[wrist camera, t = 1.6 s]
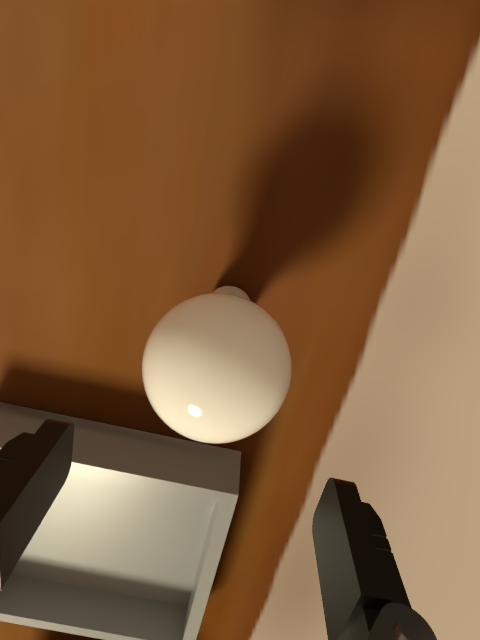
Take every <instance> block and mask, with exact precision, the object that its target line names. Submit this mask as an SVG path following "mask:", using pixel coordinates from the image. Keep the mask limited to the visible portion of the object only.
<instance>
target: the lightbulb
mask: <svg viewBox="0 0 480 640" xmlns="http://www.w3.org/2000/svg"><path fill="white" fill-rule="evenodd" d="M291 371H292V364H291V355H290V350H289V346H288V343H287V340H286V338H285V336H284V334H283V332H282V330H281V328H280V327H279V325H278V324H277V323H276V321H275V320H274V319H273V318H272V317H271V316H270V315H269V314H268V313H267V312H266V311H265V310H264V309H263V308H261V307H260V306H259V305H257V304H255V303H254V302H252V301H250V299H249V297H248V295H247V294H246V293H245V292H244V291H243V290H241V289H240V288H237V287H234V286H223V287H220V288H218V289H216V290H215V291H213V292H212V293H209V294H203V295H198V296H195V297H192V298H189V299H187V300H185V301H183V302H181V303H179V304H178V305H176V306H175V307H173V308H172V309H171V310H169V311H168V312H167V313H166V314H165V315H164V316H163V317H162V318H161V319H160V320H159V322H158V323H157V324H156V326H155V327H154V329H153V330H152V332H151V334H150V336H149V338H148V341H147V343H146V346H145V350H144V354H143V361H142V378H143V384H144V388H145V392H146V395H147V397H148V400H149V402H150V404H151V406H152V407H153V409H154V411H155V412H156V413H157V415H158V416H159V417H160V418H161V419H162V421H163V422H164V423H165V424H166V425H168V426H169V427H170V428H171V429H173V430H174V431H176V432H177V433H179V434H181V435H182V436H185V437H187V438H189V439H192V440H195V441H199V442H203V443H212V444H221V443H229V442H234V441H238V440H241V439H243V438H246V437H248V436H250V435H252V434H254V433H256V432H257V431H259V430H260V429H261V428H263V427H264V426H265V425H266V424H267V423H268V422H269V421H270V420H271V419H272V418H273V417H274V416H275V415H276V413H277V412H278V410H279V409H280V407H281V406H282V404H283V402H284V400H285V397H286V395H287V392H288V389H289V385H290V380H291Z"/></svg>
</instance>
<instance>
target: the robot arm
mask: <svg viewBox="0 0 480 640" xmlns="http://www.w3.org/2000/svg"><path fill="white" fill-rule="evenodd" d="M73 439H74V424H73V423H68V422H64V421H59V420H54V419H46V420H45V421H44V422H43V424H42V425H41V426H40V427H39V429H38V430H37V431H36V432H35V434H32V433H27V432H23V433H21V434H20V435H18V436H16V437H15V438H13V439H11V440H9V441H8V442H6V443H5V445H4V446H3V447H2V448H1V449H0V591H1V589H2V588H3V586H4V584H5V583H6V581H7V579H8V578H9V576H10V574H11V573H12V571H13V569H14V568H15V566H16V564H17V563H18V561H19V559H20V557H21V556H22V554H23V552H24V551H25V549H26V547H27V546H28V544H29V542H30V541H31V539H32V537H33V536H34V534H35V532H36V531H37V529H38V527H39V525H40V524H41V522H42V520H43V519H44V517H45V515H46V514H47V512H48V510H49V509H50V507H51V505H52V504H53V502H54V500H55V499H56V497H57V495H58V493H59V492H60V490H61V488H62V487H63V485H64V483H65V481H66V479H67V477H68V474H69V471H70V468H71V463H72V452H73ZM312 532H313V540H314V547H315V554H316V560H317V567H318V573H319V581H320V587H321V594H322V601H323V608H324V614H325V621H326V627H327V635H328V640H437V638H436V636H435V634H434V632H433V631H432V629H431V627H430V626H429V625H428V623H427V622H426V621H425V619H424V618H423V617H422V616H421V615H420V614H418V613H417V612H416V611H415V610H413V609H412V608H411V605H410V602H409V600H408V597H407V594H406V591H405V588H404V585H403V582H402V580H401V576H400V573H399V571H398V568H397V565H396V562H395V559H394V556H393V553H391V547H390V544H389V541H388V539H386V533H385V530H384V527H383V524H382V521H381V519H380V517H379V516H378V515H377V513H376V512H375V511H374V509H373V508H372V506H371V505H370V504H368V503H364V502H361V500H360V496H359V493H358V490H357V487H356V484H355V483H354V482H349V481H344V480H340V479H335V478H329V479H328V481H327V483H326V485H325V488H324V490H323V493H322V495H321V498H320V500H319V503H318V505H317V508H316V510H315V513H314V517H313V525H312Z"/></svg>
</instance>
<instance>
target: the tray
mask: <svg viewBox="0 0 480 640" xmlns="http://www.w3.org/2000/svg"><path fill="white" fill-rule="evenodd" d="M46 419H54V420H59V421H64V422H68V423H73V424H74V439H73V452H72V463H71V468H70V471H69V474H68V477H67V479H66V481H65V483H64V485H63V487H62V488H61V490H60V492H59V493H58V495H57V497H56V499H55V500H54V502H53V504H52V505H51V507H50V509H49V510H48V512H47V514H46V515H45V517H44V519H43V520H42V522H41V524H40V525H39V527H38V529H37V531H36V532H35V534H34V536H33V537H32V539H31V541H30V542H29V544H28V546H27V547H26V549H25V551H24V552H23V554H22V556H21V557H20V559H19V561H18V563H17V564H16V566H15V568H14V569H13V571H12V573H11V574H10V576H9V578H8V579H7V581H6V583H5V584H4V586H3V588H2V589H1V591H0V621H4V622H9V623H15V624H20V625H26V626H31V627H37V628H42V629H48V630H53V631H59V632H64V633H70V634H75V635H81V636H86V637H92V638H97V639H103V640H196V638H197V634H198V631H199V628H200V624H201V621H202V618H203V614H204V611H205V607H206V604H207V601H208V597H209V594H210V590H211V587H212V584H213V580H214V577H215V574H216V570H217V567H218V563H219V560H220V557H221V553H222V550H223V546H224V543H225V540H226V536H227V533H228V530H229V526H230V523H231V519H232V516H233V513H234V509H235V506H236V502H237V499H238V496H239V480H240V464H241V451H236V450H232V449H227V448H222V447H217V446H212V445H207V444H202V443H198V442H193V441H188V440H183V439H178V438H173V437H168V436H163V435H159V434H154V433H149V432H144V431H139V430H134V429H129V428H125V427H120V426H115V425H110V424H105V423H100V422H95V421H90V420H86V419H81V418H76V417H71V416H66V415H61V414H56V413H52V412H47V411H42V410H37V409H32V408H27V407H22V406H17V405H13V404H8V403H3V402H0V449H1V448H2V447H3V446H4V445H5V443H6V442H8V441H9V440H11V439H13V438H15V437H16V436H18V435H20V434H21V433H23V432H27V433H32V434H35V432H36V431H37V430H38V429H39V427H40V426H41V425H42V424H43V422H44V421H45V420H46Z"/></svg>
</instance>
